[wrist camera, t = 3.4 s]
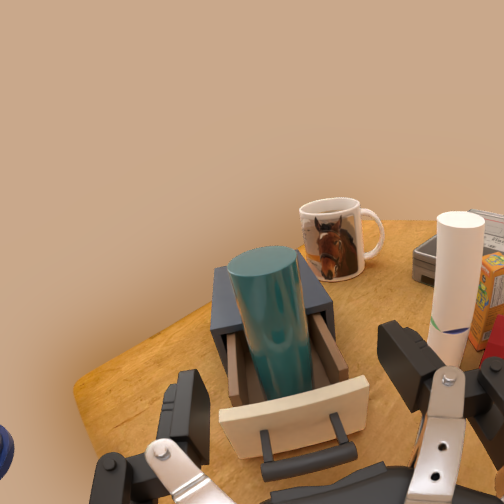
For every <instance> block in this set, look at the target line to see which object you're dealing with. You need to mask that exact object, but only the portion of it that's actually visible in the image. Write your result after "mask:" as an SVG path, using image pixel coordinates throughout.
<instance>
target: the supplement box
mask: <svg viewBox="0 0 504 504" xmlns="http://www.w3.org/2000/svg"><path fill="white" fill-rule="evenodd" d="M498 314H500V315H504V256H503V255H502V254H501V253H500V252H496V253H492V254H489V255H485V256H482V264H481V272H480V279H479V286H478V292H477V298H476V303H475V308H474V313H473V318H472V323H471V327H470V331H469V335H468V338H469V340H470V341H471V343H472V344H473V346H474V347H475V349H476V350H477V351H480V350H483V349H485V348H486V346H487V343H488V340H489V337H490V334H491V331H492V328H493V325H494V322H495V320H496V317H497V315H498Z"/></svg>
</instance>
